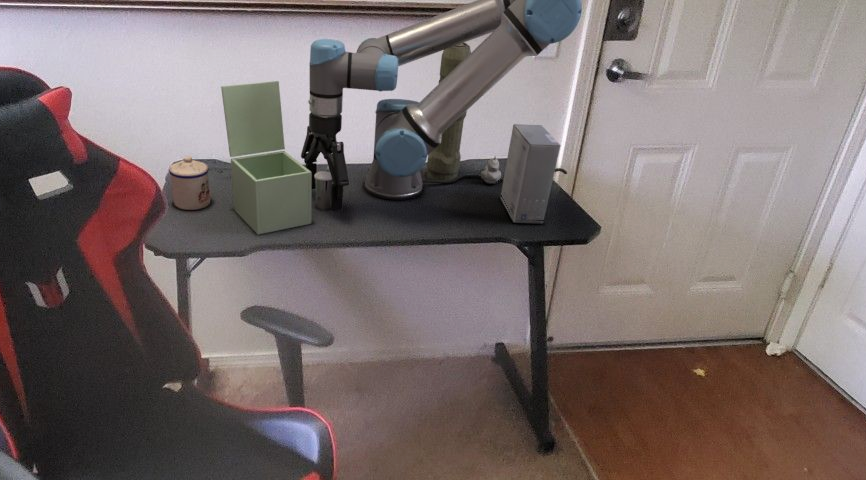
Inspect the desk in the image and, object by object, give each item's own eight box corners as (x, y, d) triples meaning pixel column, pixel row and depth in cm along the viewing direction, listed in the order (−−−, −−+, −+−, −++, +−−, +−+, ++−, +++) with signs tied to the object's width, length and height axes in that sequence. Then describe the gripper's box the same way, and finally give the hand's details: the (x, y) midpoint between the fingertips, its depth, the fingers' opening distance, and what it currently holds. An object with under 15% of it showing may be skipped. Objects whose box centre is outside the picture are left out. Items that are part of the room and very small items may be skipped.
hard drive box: (543, 224, 163) (561, 145, 152) (513, 224, 162) (528, 144, 151) (527, 198, 176) (542, 123, 164) (498, 198, 175) (512, 123, 164)
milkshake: (336, 204, 166) (337, 165, 161) (328, 212, 162) (329, 173, 156) (319, 200, 167) (320, 162, 162) (311, 208, 163) (311, 170, 158)
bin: (311, 223, 156) (311, 172, 149) (257, 234, 150) (255, 181, 143) (285, 200, 167) (284, 150, 159) (233, 209, 160) (230, 158, 153)
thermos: (451, 168, 191) (468, 38, 171) (462, 184, 181) (482, 49, 161) (421, 169, 189) (435, 38, 169) (431, 185, 179) (447, 48, 160)
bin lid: (278, 81, 152) (277, 80, 153) (222, 86, 146) (220, 86, 147) (284, 149, 159) (283, 148, 159) (230, 157, 153) (229, 156, 153)
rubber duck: (484, 187, 180) (489, 159, 176) (476, 178, 186) (480, 150, 181) (503, 186, 181) (508, 158, 177) (494, 177, 187) (498, 149, 182)
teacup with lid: (207, 212, 159) (202, 165, 152) (168, 210, 158) (162, 163, 152) (217, 192, 168) (213, 147, 162) (181, 190, 168) (175, 145, 162)
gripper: (287, 99, 159) (287, 182, 171) (337, 132, 141) (333, 222, 153) (315, 96, 162) (313, 178, 174) (367, 128, 145) (361, 216, 157)
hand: (323, 199), depth 164 cm, fingers open, 13 cm apart
